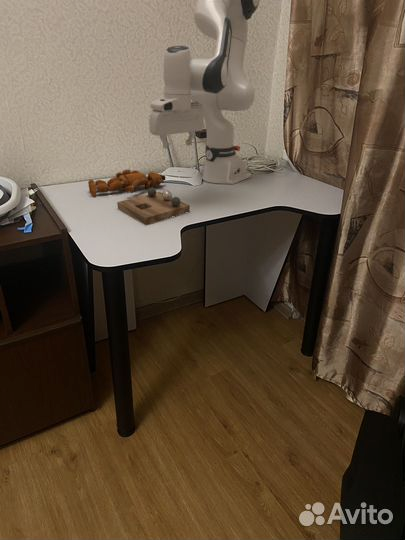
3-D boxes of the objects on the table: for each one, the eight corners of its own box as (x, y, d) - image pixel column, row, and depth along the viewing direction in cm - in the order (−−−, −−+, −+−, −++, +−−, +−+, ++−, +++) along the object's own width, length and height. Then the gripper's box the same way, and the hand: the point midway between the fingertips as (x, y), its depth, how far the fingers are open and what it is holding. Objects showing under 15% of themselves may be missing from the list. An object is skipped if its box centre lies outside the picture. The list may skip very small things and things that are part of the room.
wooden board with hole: (159, 198, 150) (159, 191, 148) (189, 212, 138) (189, 205, 137) (117, 208, 139) (117, 202, 138) (146, 225, 128) (145, 217, 126)
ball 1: (153, 194, 146) (152, 185, 144) (158, 196, 144) (157, 188, 142) (145, 195, 144) (145, 187, 142) (150, 198, 142) (150, 189, 140)
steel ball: (168, 197, 143) (167, 188, 141) (173, 200, 141) (173, 190, 139) (160, 199, 141) (159, 190, 139) (166, 202, 139) (165, 192, 137)
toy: (96, 206, 145) (173, 193, 154) (92, 188, 141) (172, 176, 151) (87, 189, 160) (158, 178, 170) (84, 172, 157) (156, 162, 166)
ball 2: (176, 203, 138) (176, 194, 136) (182, 206, 136) (182, 197, 134) (169, 205, 136) (169, 196, 134) (174, 208, 134) (174, 199, 132)
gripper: (197, 100, 136) (196, 141, 143) (145, 103, 125) (147, 148, 132) (208, 102, 132) (207, 145, 139) (156, 105, 121) (157, 151, 128)
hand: (177, 146), depth 135 cm, fingers open, 8 cm apart
